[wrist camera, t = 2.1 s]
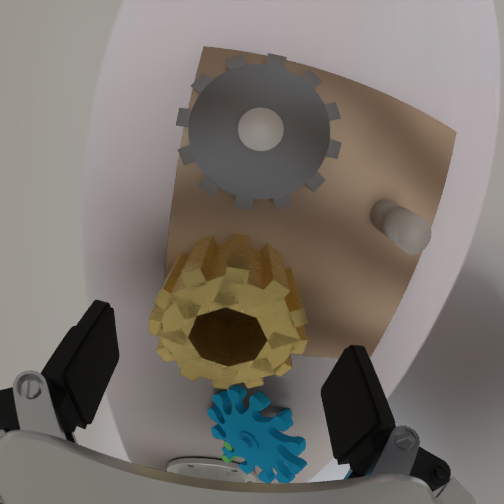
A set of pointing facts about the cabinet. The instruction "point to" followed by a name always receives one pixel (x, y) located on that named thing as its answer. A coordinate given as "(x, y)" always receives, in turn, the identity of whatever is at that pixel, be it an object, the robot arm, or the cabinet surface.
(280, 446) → the gear
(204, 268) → the brass gear
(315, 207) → the gear board
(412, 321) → the cabinet surface
